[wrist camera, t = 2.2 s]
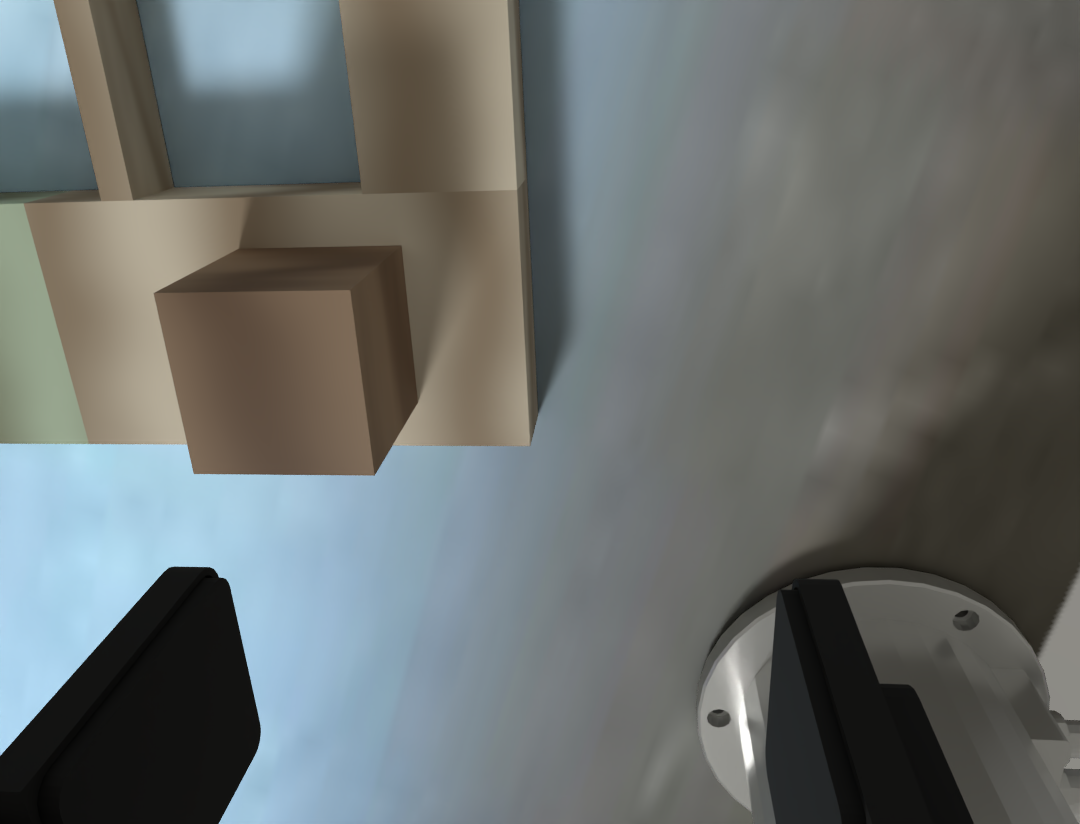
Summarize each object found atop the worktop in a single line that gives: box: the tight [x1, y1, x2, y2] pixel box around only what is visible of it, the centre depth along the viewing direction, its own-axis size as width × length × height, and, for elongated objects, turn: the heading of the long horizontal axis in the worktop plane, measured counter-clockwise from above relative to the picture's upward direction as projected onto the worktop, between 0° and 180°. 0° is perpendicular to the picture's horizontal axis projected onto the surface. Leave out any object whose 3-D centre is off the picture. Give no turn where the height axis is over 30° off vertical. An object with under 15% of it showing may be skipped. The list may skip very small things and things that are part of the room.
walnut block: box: [154, 245, 418, 475], centre depth 24 cm, size 5×5×5 cm
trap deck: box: [0, 0, 538, 446], centre depth 25 cm, size 22×16×6 cm
